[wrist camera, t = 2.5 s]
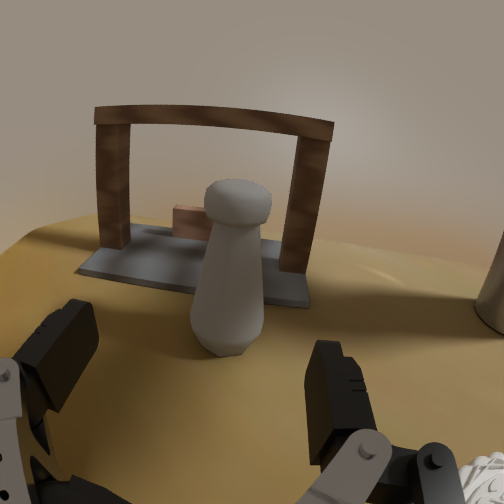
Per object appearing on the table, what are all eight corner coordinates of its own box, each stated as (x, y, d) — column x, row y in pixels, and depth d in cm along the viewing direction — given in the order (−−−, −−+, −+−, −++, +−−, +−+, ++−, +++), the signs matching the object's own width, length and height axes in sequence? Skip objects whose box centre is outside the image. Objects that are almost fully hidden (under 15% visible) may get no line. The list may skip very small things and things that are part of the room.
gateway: (298, 248, 43) (320, 120, 35) (308, 308, 30) (346, 124, 22) (128, 227, 43) (129, 105, 35) (79, 274, 30) (68, 108, 22)
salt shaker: (177, 332, 25) (177, 176, 19) (230, 310, 28) (244, 170, 23) (218, 376, 21) (231, 200, 15) (274, 346, 25) (303, 191, 19)
